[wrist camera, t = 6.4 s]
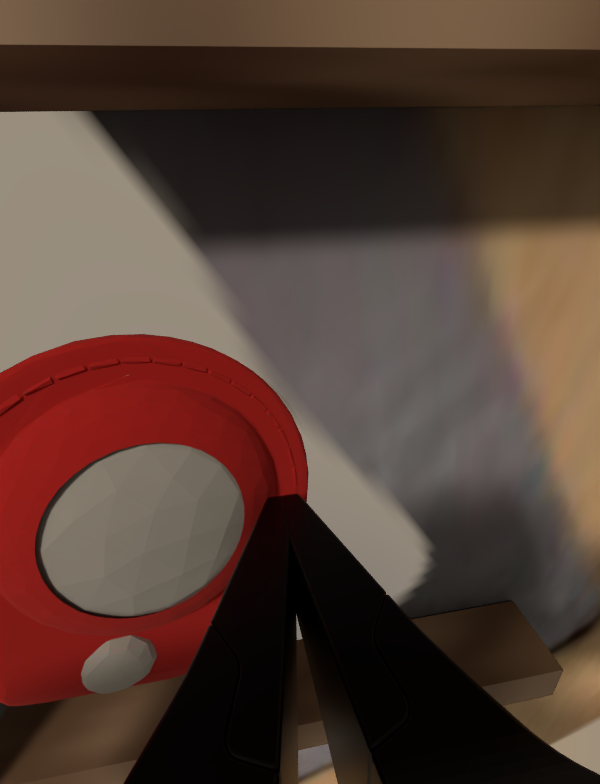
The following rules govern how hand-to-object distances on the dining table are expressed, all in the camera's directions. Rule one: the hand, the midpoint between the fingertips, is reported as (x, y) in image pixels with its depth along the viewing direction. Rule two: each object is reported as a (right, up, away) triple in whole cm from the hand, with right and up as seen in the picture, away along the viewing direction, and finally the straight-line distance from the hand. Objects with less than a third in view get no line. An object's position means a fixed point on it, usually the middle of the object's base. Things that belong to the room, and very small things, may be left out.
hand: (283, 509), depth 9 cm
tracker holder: (-5, +2, +1) cm, 5 cm away
